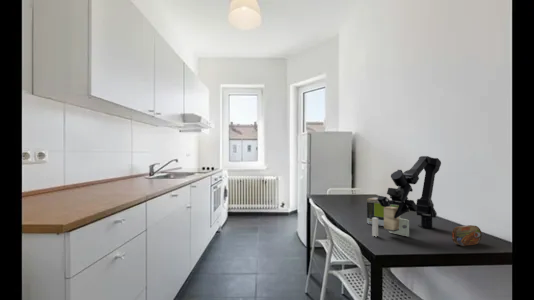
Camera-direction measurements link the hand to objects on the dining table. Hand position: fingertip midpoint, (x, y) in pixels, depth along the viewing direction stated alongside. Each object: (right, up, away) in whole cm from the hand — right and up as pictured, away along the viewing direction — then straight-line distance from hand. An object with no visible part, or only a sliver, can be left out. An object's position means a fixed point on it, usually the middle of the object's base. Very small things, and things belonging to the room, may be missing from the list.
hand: (389, 216), depth 148 cm
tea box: (+7, -11, +27) cm, 30 cm away
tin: (+30, -10, -11) cm, 34 cm away
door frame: (+2, -10, +7) cm, 13 cm away
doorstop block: (+1, -7, +1) cm, 7 cm away
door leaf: (+6, -10, +4) cm, 12 cm away
